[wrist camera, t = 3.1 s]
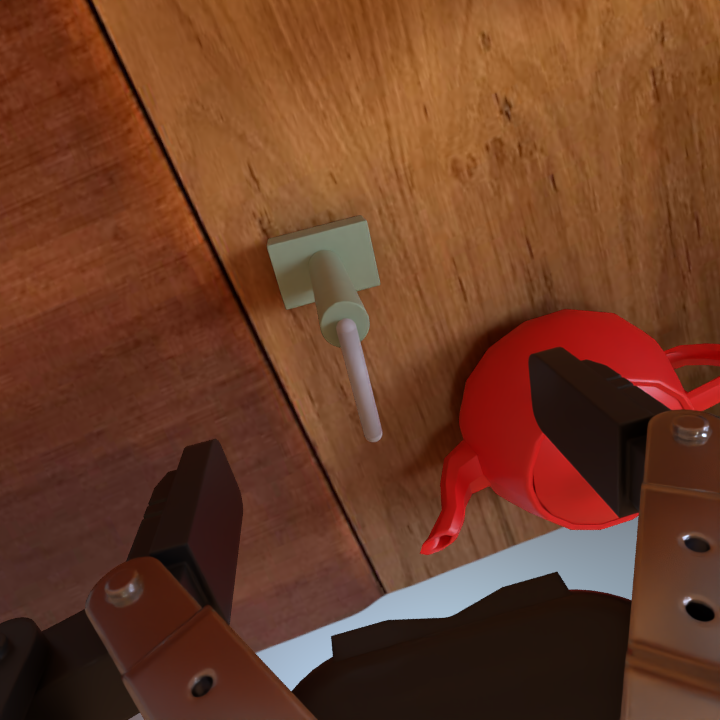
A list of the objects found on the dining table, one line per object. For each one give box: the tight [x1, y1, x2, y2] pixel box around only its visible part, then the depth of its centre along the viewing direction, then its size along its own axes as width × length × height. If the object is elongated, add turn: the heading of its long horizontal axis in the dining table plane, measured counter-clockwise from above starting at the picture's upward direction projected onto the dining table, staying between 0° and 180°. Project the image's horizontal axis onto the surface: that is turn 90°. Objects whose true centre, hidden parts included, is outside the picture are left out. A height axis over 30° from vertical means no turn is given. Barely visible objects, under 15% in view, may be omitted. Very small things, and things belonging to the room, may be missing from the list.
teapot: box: [420, 309, 720, 555], centre depth 34 cm, size 25×16×12 cm, turn 117°
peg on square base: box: [267, 215, 382, 442], centre depth 26 cm, size 6×7×15 cm
